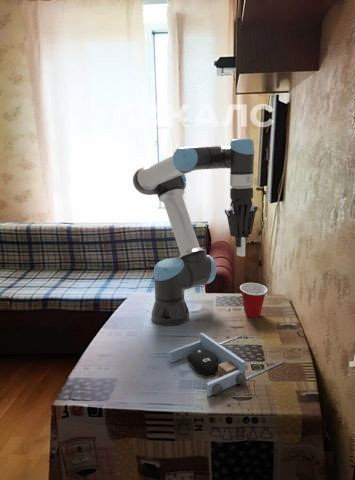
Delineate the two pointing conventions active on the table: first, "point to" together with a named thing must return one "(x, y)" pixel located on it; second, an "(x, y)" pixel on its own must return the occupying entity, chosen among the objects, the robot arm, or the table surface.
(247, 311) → the plastic cup
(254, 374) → the track
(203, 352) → the computer mouse
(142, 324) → the table surface
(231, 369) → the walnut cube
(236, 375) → the blue u-shaped bracket
